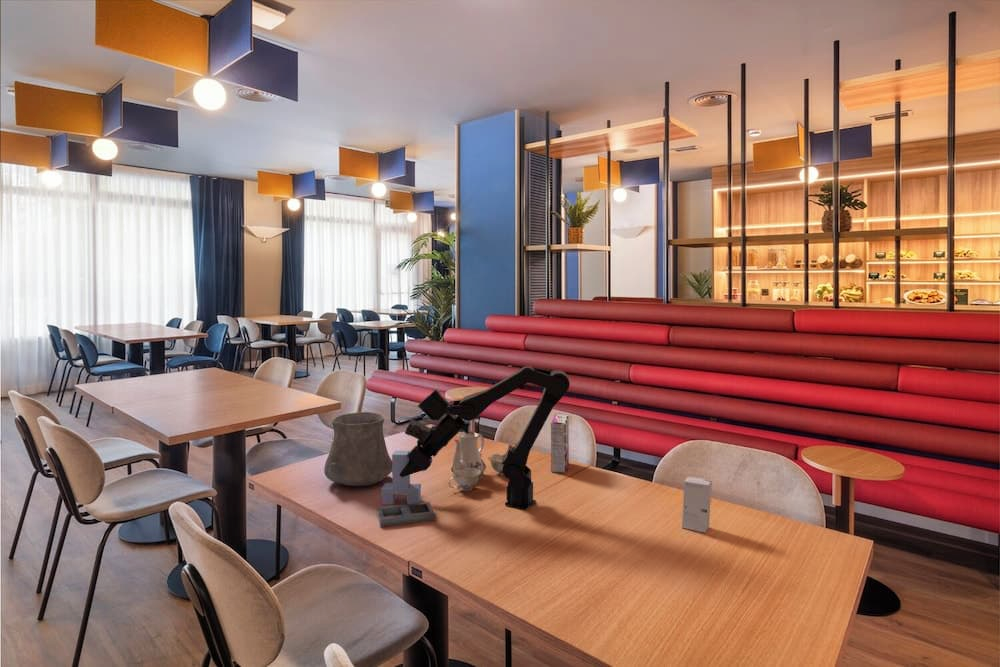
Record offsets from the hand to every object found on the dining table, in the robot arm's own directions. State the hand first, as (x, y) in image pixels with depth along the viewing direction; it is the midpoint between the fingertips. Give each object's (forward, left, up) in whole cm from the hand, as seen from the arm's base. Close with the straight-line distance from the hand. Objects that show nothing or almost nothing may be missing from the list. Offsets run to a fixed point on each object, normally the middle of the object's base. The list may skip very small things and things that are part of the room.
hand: (404, 470), depth 164 cm
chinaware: (-7, -26, -9) cm, 29 cm away
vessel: (+22, -6, -9) cm, 24 cm away
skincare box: (-73, -24, -9) cm, 78 cm away
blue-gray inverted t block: (+1, 0, -9) cm, 9 cm away
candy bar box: (-24, -49, -9) cm, 56 cm away
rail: (-7, +8, -9) cm, 14 cm away
